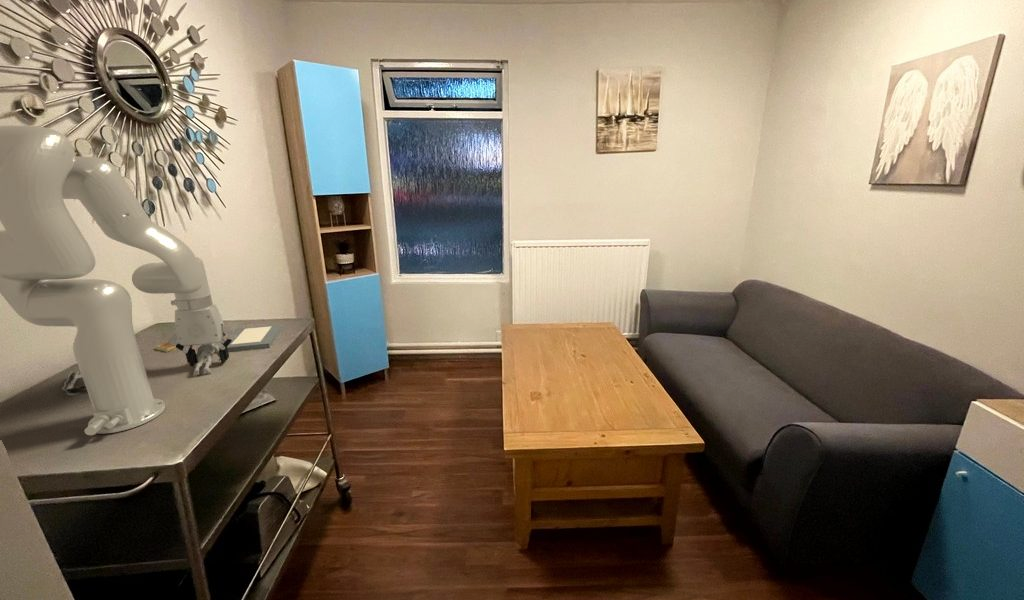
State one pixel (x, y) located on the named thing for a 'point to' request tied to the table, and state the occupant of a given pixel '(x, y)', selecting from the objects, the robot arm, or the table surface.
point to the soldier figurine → (207, 354)
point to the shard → (166, 347)
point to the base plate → (254, 337)
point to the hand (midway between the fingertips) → (209, 362)
